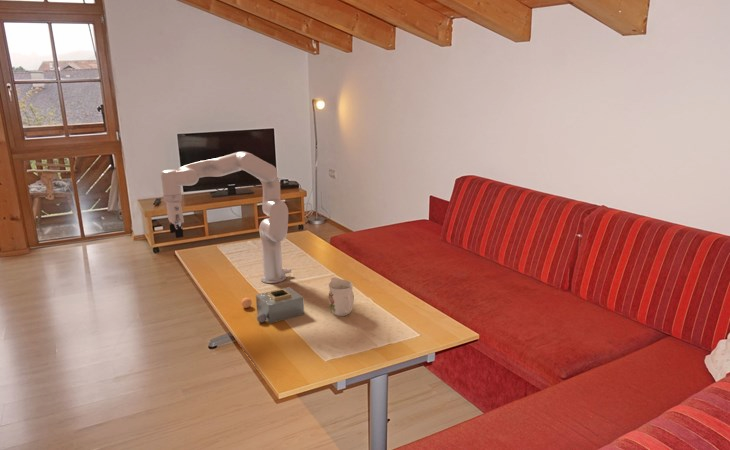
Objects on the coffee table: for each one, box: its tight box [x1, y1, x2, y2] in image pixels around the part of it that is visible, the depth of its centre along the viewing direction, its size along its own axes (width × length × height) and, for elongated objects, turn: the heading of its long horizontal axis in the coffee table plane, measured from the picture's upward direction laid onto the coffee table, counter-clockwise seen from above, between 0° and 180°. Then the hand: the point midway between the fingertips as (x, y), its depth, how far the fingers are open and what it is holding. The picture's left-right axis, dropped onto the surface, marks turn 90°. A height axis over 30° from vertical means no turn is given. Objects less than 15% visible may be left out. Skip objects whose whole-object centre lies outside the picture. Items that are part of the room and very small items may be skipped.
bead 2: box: [256, 313, 267, 323], centre depth 227 cm, size 4×4×4 cm
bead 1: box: [241, 297, 253, 309], centre depth 242 cm, size 4×4×4 cm
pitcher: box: [327, 277, 355, 317], centre depth 233 cm, size 11×18×14 cm, turn 27°
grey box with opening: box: [255, 286, 305, 324], centre depth 235 cm, size 16×14×9 cm
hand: (176, 234), depth 245 cm, fingers open, 9 cm apart
